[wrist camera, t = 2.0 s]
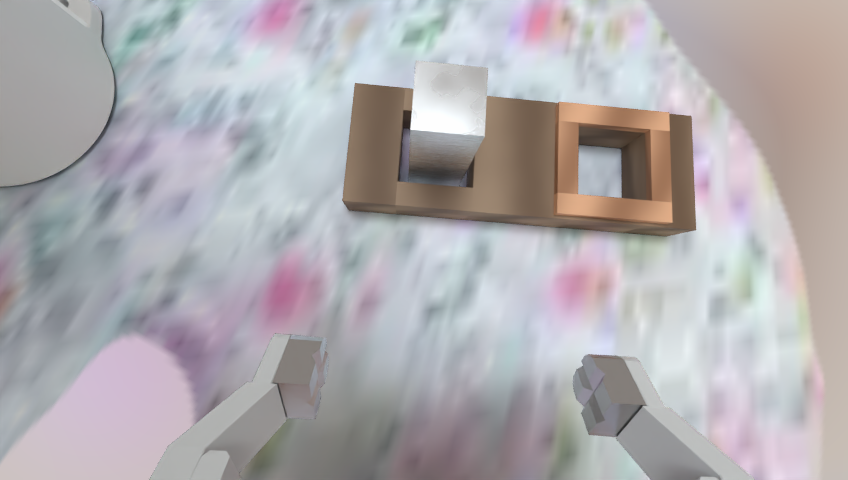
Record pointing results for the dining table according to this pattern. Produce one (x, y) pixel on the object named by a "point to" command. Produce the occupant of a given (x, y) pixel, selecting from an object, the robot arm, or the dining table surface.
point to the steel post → (446, 121)
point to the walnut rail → (529, 166)
